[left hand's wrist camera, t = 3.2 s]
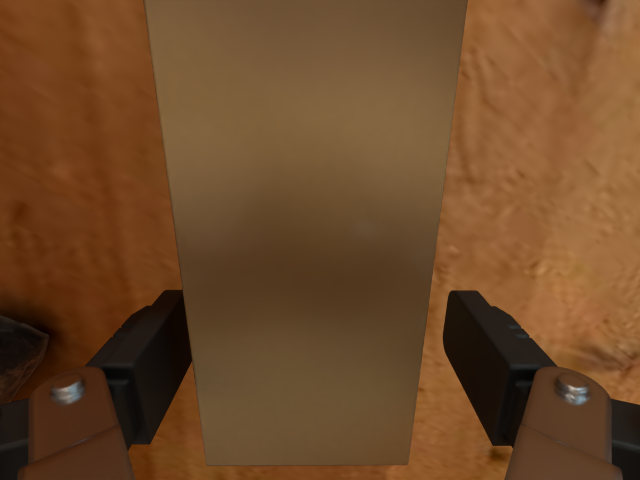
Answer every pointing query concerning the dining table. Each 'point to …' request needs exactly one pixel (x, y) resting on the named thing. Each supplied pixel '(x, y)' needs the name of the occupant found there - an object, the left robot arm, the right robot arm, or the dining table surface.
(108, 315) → the dining table surface
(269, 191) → the box
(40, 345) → the decorative rock
